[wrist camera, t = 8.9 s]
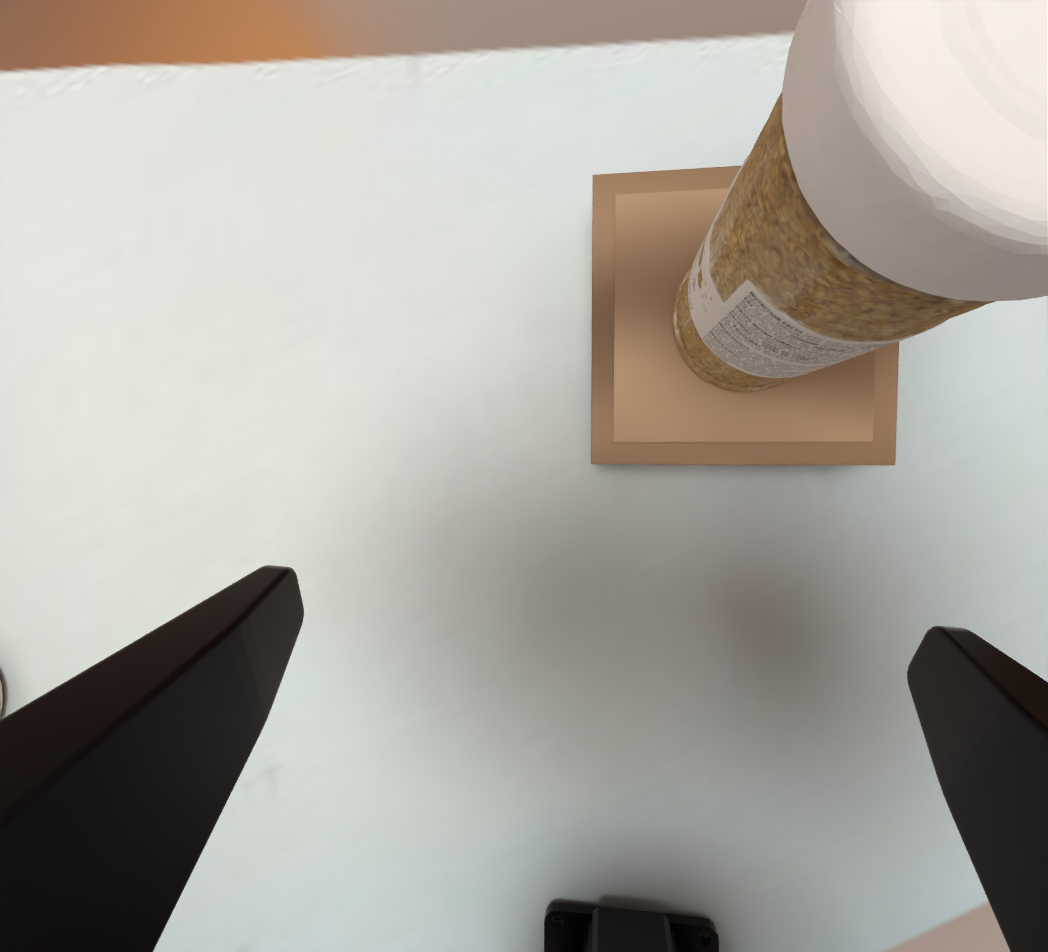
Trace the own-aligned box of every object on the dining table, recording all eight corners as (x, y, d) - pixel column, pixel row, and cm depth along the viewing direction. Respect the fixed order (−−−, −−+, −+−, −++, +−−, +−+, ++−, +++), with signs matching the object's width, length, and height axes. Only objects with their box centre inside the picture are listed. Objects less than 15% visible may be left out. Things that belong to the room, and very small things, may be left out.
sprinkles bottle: (717, 217, 18) (1059, -488, 4) (856, 286, 17) (1711, -261, 4) (641, 352, 18) (738, 91, 5) (774, 423, 18) (1284, 349, 4)
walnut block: (847, 462, 21) (897, 465, 17) (593, 461, 22) (591, 464, 19) (853, 204, 20) (907, 153, 17) (594, 218, 22) (592, 172, 18)
